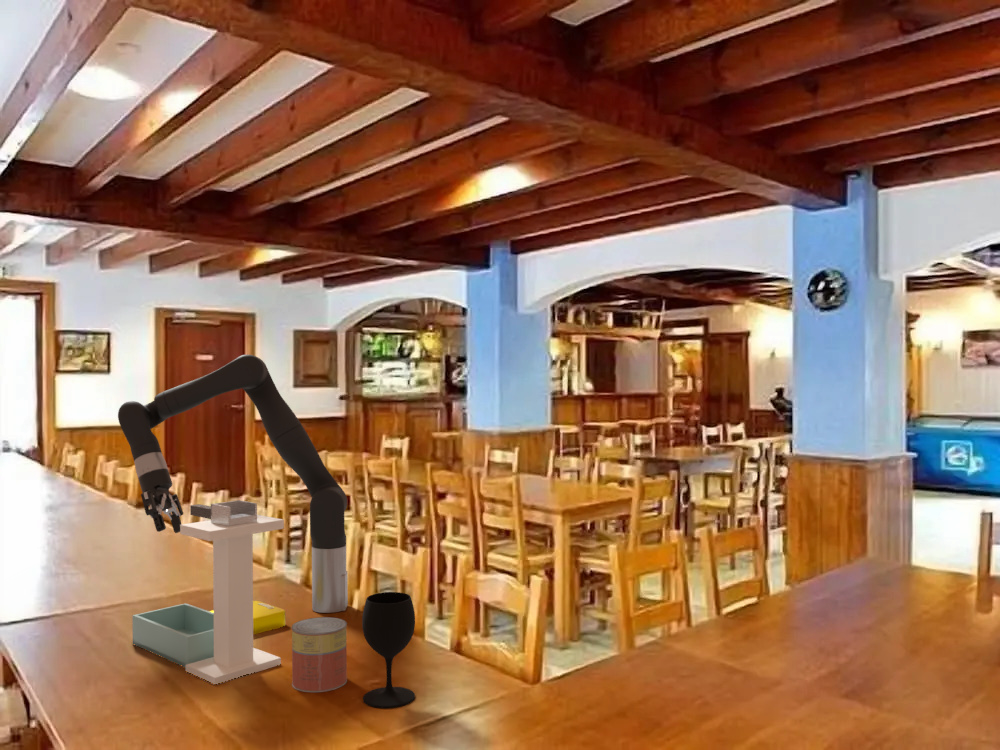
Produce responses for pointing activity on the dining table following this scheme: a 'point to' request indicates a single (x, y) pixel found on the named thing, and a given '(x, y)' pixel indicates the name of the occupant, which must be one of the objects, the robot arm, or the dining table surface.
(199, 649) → the bin
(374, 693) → the wine glass
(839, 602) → the dining table surface
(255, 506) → the brushed metal dustpan
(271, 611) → the element tile
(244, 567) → the white i-beam pedestal
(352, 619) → the dining table surface
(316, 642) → the canned food
